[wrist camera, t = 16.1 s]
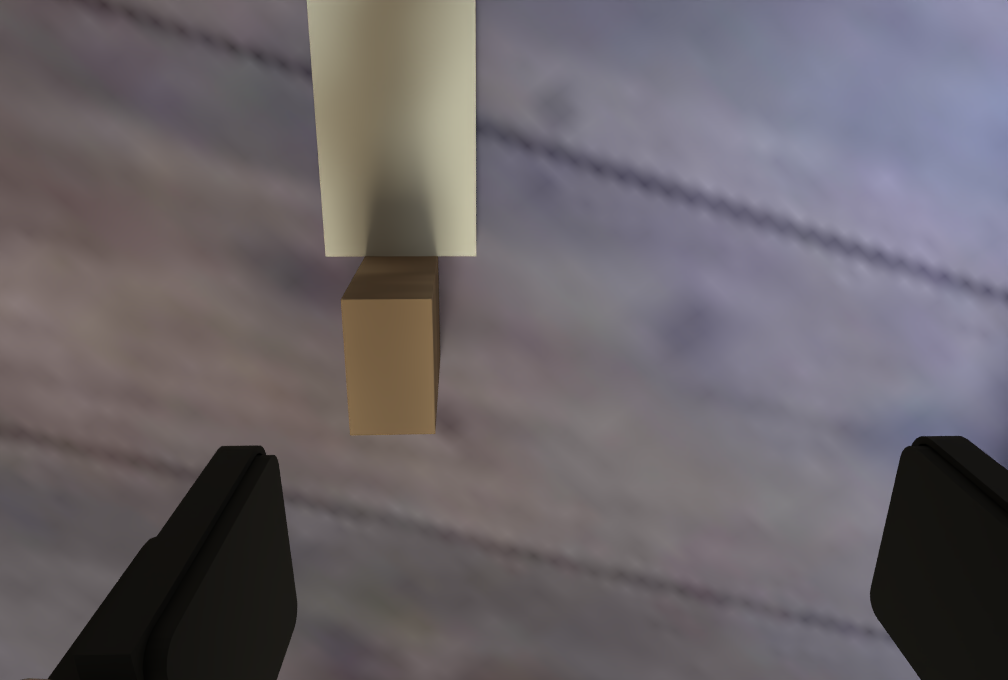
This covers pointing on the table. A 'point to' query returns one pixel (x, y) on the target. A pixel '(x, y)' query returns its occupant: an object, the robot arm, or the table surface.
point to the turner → (395, 188)
